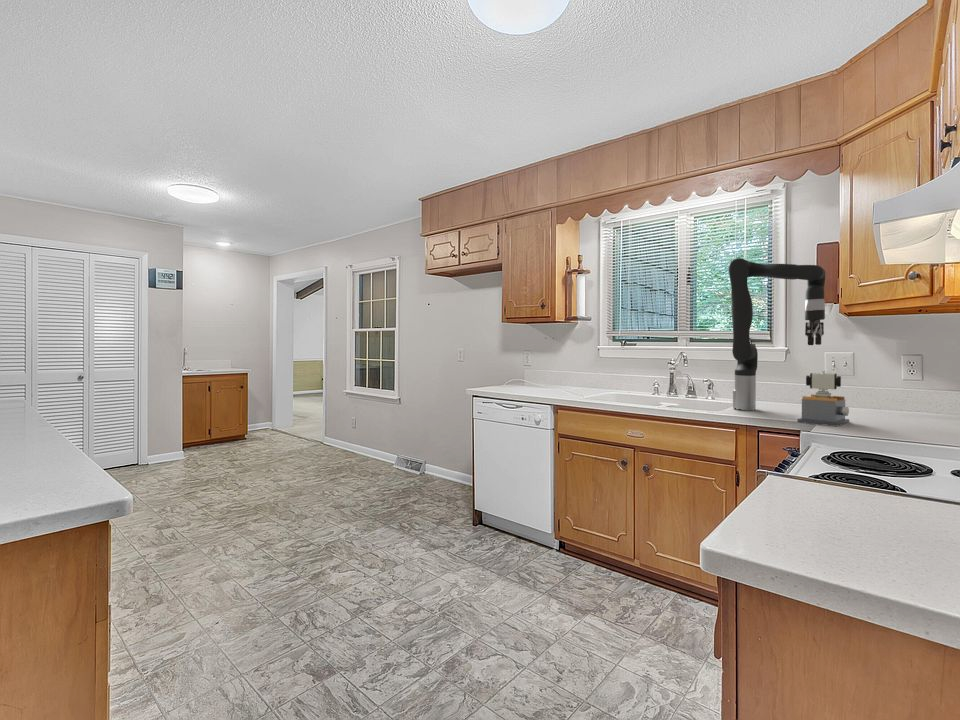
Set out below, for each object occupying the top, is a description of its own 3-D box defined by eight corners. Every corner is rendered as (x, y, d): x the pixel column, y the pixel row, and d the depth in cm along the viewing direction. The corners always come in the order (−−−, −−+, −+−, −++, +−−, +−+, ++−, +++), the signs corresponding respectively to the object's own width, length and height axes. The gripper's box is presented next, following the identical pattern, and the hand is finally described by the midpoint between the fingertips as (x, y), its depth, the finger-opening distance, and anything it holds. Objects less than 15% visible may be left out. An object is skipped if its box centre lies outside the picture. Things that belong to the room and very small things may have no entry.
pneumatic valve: (840, 400, 195) (840, 371, 195) (805, 399, 202) (806, 371, 202) (840, 399, 199) (841, 370, 199) (807, 397, 207) (807, 370, 206)
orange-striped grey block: (797, 421, 203) (797, 396, 202) (810, 418, 211) (811, 393, 211) (840, 426, 190) (841, 399, 190) (853, 422, 198) (853, 396, 198)
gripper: (811, 310, 226) (811, 344, 226) (798, 309, 217) (798, 345, 218) (830, 309, 219) (830, 344, 220) (818, 308, 211) (817, 345, 212)
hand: (814, 344), depth 219 cm, fingers open, 8 cm apart
